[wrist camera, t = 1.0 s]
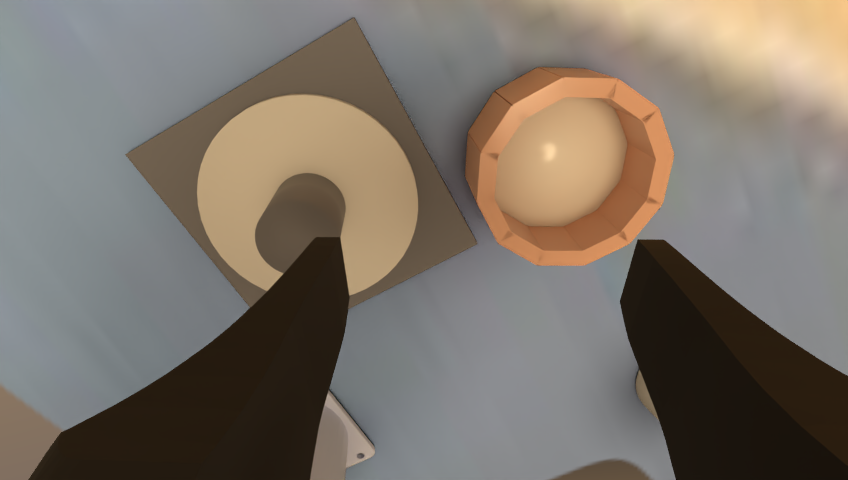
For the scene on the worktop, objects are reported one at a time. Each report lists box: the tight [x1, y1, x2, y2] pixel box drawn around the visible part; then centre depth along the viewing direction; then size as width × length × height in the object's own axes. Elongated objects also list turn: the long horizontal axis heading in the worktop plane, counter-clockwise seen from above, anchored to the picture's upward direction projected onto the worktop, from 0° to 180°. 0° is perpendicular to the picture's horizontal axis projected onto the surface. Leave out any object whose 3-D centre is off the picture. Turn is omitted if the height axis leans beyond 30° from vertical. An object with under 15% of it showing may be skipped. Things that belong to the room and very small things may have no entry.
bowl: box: [465, 67, 674, 265], centre depth 25 cm, size 9×9×4 cm
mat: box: [126, 18, 477, 309], centre depth 27 cm, size 13×13×1 cm
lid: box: [197, 93, 418, 295], centre depth 25 cm, size 11×11×5 cm
